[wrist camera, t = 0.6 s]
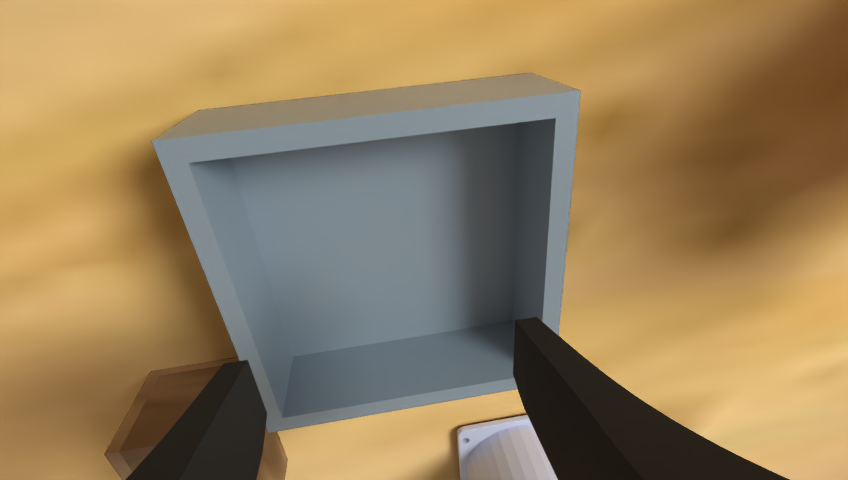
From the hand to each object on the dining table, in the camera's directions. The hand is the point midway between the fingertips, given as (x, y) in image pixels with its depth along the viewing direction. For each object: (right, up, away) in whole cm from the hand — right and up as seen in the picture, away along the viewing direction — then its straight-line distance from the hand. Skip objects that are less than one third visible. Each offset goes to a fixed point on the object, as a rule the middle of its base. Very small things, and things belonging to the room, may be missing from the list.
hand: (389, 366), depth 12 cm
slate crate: (-1, +4, +9) cm, 10 cm away
